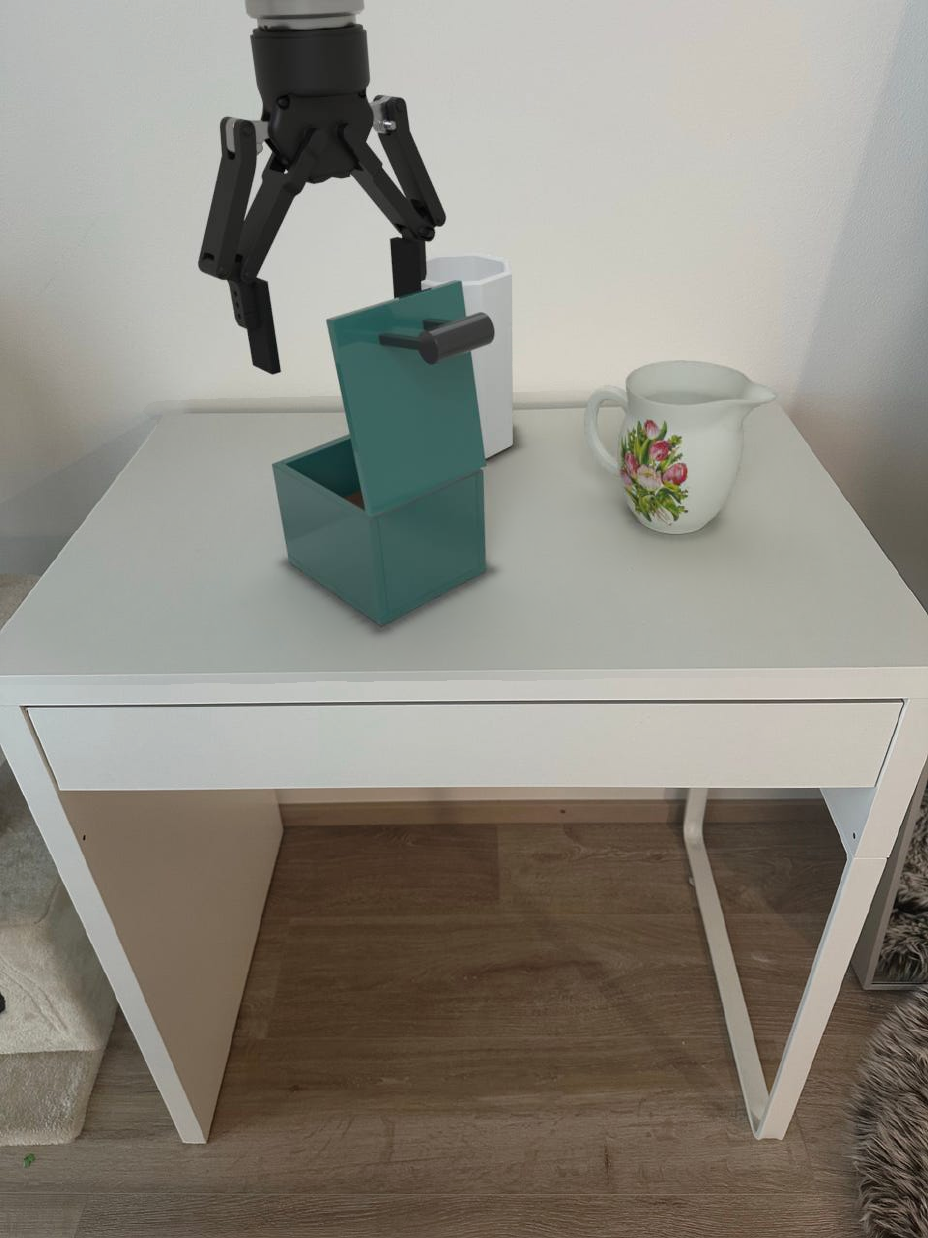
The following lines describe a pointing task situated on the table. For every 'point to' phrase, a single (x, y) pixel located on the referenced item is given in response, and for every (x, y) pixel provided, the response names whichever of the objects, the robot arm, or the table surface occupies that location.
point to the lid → (411, 392)
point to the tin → (378, 534)
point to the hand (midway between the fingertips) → (341, 345)
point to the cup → (493, 362)
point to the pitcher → (677, 439)
